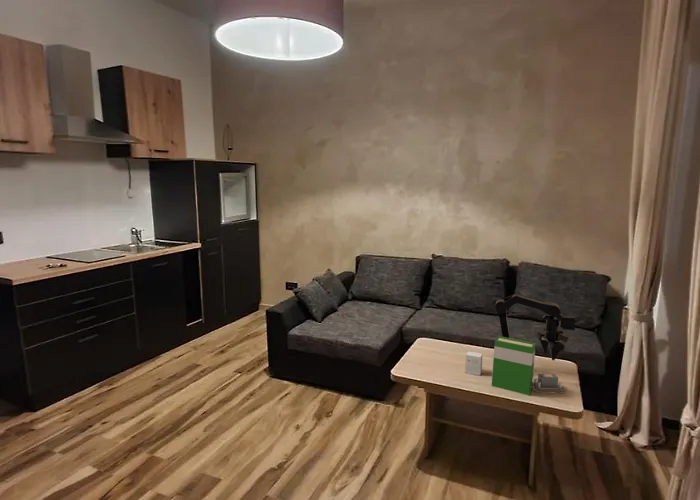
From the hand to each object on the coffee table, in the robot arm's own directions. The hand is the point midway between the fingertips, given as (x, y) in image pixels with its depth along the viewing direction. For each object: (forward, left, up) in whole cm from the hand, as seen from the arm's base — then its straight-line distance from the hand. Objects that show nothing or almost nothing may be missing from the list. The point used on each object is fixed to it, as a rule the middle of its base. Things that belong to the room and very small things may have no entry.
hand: (549, 356), depth 226 cm
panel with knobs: (-5, -11, -12) cm, 17 cm away
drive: (-5, -11, -11) cm, 16 cm away
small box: (-37, +6, -12) cm, 39 cm away
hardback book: (-23, -11, -12) cm, 28 cm away
